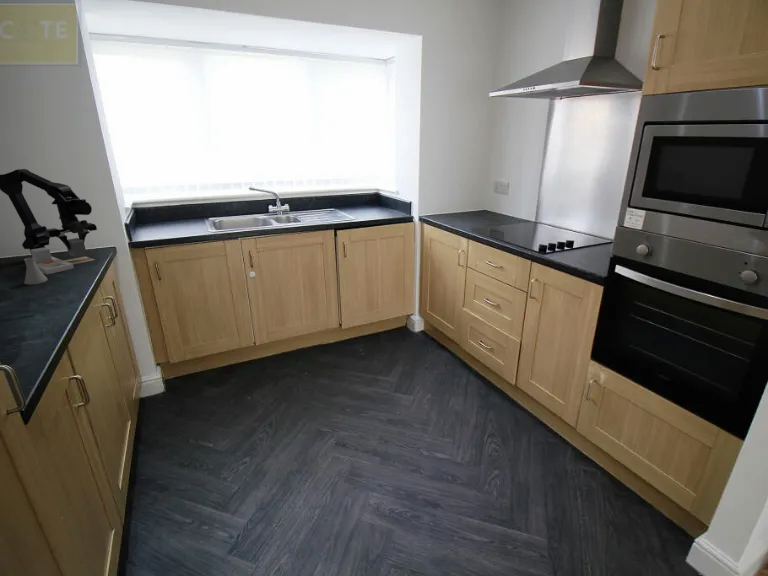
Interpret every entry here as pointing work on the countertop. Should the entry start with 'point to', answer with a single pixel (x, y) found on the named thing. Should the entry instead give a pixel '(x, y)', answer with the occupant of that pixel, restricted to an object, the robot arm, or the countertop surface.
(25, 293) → the countertop surface
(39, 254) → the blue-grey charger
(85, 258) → the cork pad
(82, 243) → the block
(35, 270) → the flask
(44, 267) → the power strip
